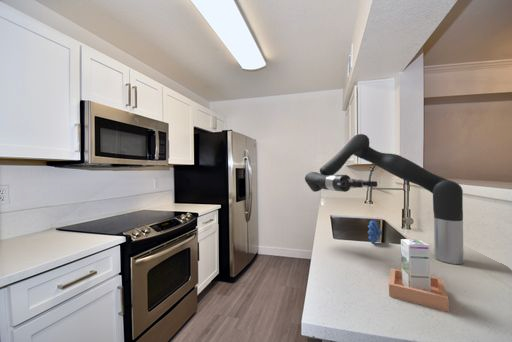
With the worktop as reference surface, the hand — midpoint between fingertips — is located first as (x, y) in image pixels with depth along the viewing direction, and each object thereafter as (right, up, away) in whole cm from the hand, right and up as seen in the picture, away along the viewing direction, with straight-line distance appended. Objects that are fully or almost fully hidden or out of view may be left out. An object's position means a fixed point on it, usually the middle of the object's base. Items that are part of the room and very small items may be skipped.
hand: (369, 184), depth 88 cm
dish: (+4, -32, -20) cm, 38 cm away
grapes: (+17, -33, +28) cm, 46 cm away
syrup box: (+4, -31, -20) cm, 37 cm away
